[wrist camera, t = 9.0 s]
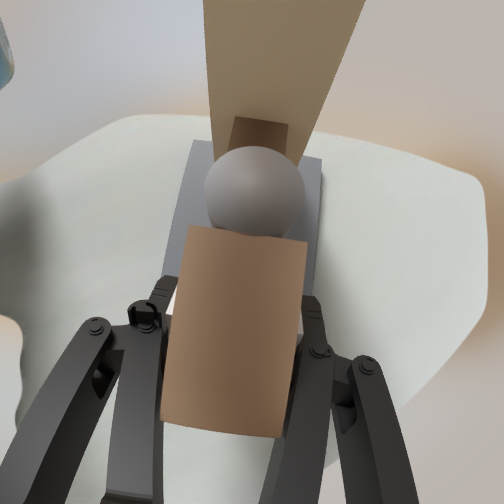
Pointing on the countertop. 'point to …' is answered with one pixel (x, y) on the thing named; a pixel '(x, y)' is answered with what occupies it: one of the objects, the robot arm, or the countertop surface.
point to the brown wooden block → (238, 300)
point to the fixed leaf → (258, 134)
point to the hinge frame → (265, 97)
